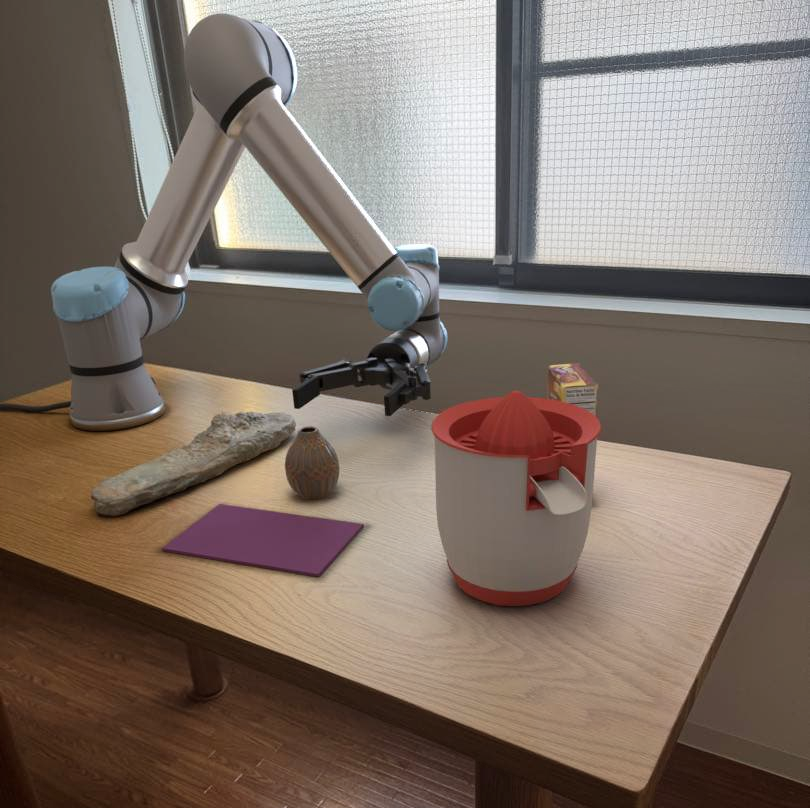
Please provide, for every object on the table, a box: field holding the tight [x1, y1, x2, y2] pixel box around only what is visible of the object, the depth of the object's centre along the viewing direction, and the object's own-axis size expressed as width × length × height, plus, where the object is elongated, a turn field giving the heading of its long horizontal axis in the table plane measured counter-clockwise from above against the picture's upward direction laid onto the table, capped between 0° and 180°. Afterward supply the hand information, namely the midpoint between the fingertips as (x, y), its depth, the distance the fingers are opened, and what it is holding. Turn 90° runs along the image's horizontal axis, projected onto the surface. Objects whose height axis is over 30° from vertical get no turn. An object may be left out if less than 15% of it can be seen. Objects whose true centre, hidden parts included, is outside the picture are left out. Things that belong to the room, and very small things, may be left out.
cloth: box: [161, 503, 365, 578], centre depth 89 cm, size 20×12×1 cm, turn 69°
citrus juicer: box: [430, 390, 602, 607], centre depth 74 cm, size 16×17×20 cm
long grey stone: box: [90, 411, 297, 517], centre depth 107 cm, size 35×5×10 cm
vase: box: [284, 425, 340, 500], centre depth 98 cm, size 7×7×9 cm
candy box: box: [547, 363, 599, 417], centre depth 93 cm, size 9×4×15 cm, turn 2°
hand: (340, 402), depth 103 cm, fingers open, 13 cm apart
